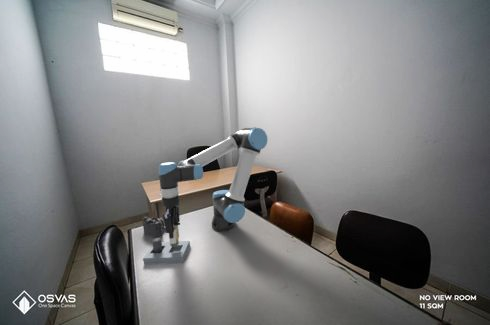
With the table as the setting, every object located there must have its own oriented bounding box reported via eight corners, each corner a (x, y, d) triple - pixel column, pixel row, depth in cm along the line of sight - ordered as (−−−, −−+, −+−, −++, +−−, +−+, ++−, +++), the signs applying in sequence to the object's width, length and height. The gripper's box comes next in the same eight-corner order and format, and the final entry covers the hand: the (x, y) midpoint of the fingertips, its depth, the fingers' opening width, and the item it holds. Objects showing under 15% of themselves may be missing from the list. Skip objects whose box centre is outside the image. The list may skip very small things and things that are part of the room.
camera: (172, 229, 109) (171, 215, 107) (157, 239, 99) (155, 223, 98) (157, 224, 115) (155, 210, 113) (141, 233, 106) (139, 218, 104)
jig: (190, 245, 93) (188, 232, 91) (182, 262, 81) (181, 247, 80) (156, 247, 93) (154, 233, 91) (143, 264, 81) (141, 248, 79)
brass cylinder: (179, 241, 88) (178, 226, 86) (177, 246, 84) (175, 231, 82) (171, 241, 88) (170, 227, 86) (168, 246, 84) (167, 231, 82)
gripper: (169, 189, 89) (173, 230, 94) (153, 202, 73) (159, 252, 77) (184, 189, 89) (187, 230, 94) (171, 202, 73) (176, 251, 77)
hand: (174, 240), depth 85 cm, fingers closed on brass cylinder, 4 cm apart
